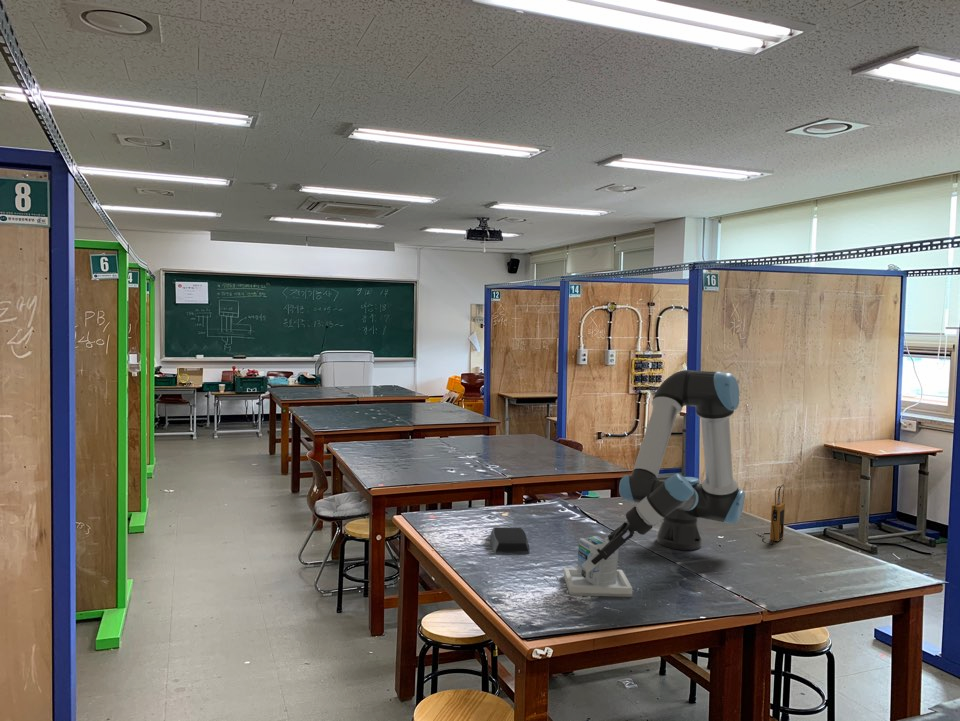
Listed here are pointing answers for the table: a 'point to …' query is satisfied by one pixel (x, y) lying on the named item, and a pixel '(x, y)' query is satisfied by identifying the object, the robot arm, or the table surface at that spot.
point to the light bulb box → (602, 572)
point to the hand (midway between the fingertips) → (589, 561)
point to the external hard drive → (509, 541)
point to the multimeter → (777, 519)
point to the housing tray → (585, 588)
